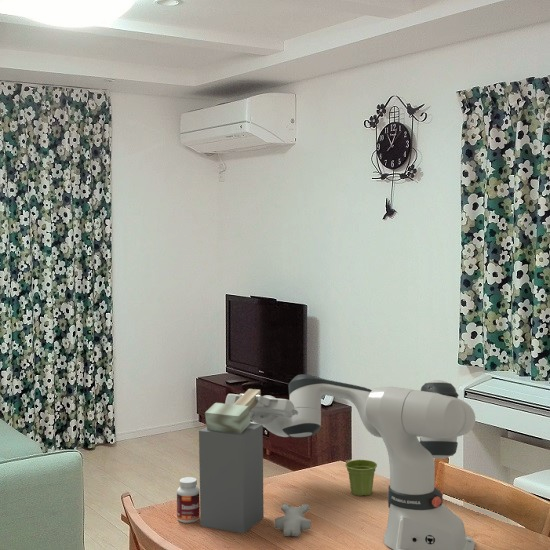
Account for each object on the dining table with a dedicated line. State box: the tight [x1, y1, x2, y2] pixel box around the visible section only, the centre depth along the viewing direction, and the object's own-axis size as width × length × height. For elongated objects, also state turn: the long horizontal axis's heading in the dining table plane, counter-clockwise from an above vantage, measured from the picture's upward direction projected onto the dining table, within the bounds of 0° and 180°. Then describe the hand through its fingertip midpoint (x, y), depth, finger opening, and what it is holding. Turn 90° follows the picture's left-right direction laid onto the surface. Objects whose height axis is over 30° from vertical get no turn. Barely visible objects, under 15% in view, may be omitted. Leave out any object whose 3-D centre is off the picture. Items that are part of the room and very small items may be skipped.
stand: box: [198, 422, 265, 535], centre depth 215 cm, size 13×12×26 cm
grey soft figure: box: [274, 503, 312, 537], centre depth 211 cm, size 10×5×15 cm
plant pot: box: [345, 459, 378, 497], centre depth 237 cm, size 9×9×9 cm
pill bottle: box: [176, 476, 200, 524], centre depth 218 cm, size 6×6×11 cm
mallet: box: [204, 388, 262, 434], centre depth 218 cm, size 10×20×5 cm, turn 156°
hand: (249, 397), depth 224 cm, fingers closed on mallet, 3 cm apart
